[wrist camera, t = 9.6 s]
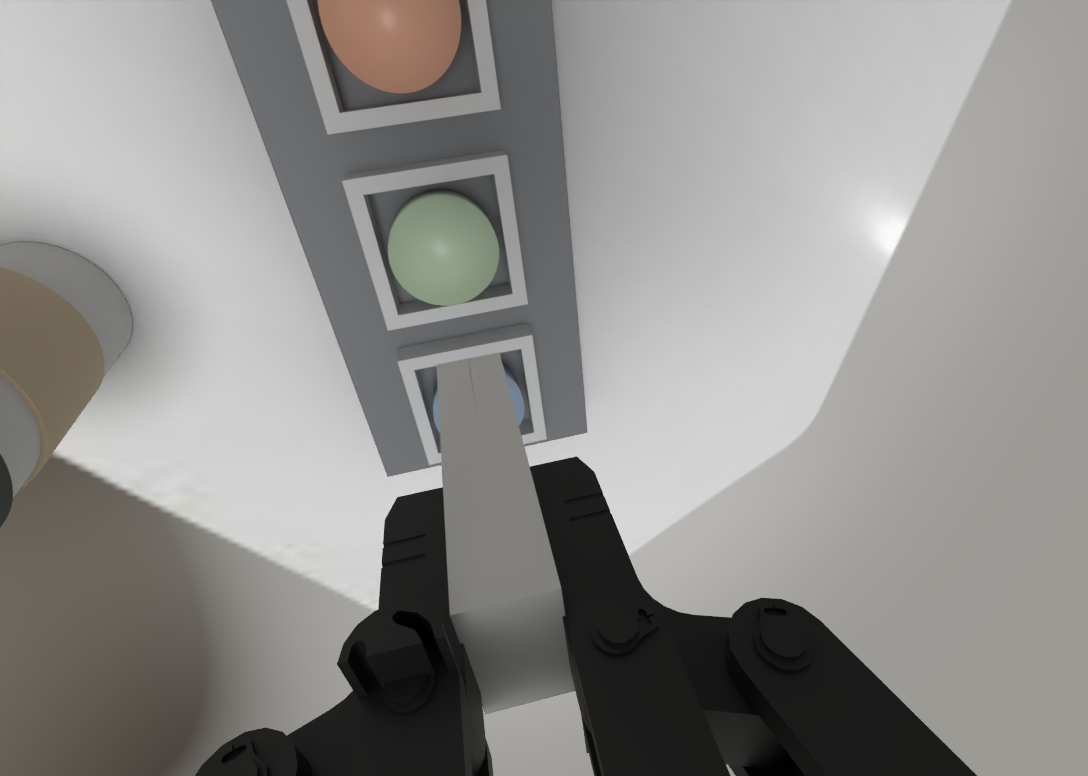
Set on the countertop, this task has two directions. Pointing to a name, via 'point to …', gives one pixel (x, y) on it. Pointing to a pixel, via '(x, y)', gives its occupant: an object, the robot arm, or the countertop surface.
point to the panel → (406, 171)
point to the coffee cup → (50, 352)
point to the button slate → (514, 392)
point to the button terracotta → (393, 39)
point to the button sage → (442, 248)
